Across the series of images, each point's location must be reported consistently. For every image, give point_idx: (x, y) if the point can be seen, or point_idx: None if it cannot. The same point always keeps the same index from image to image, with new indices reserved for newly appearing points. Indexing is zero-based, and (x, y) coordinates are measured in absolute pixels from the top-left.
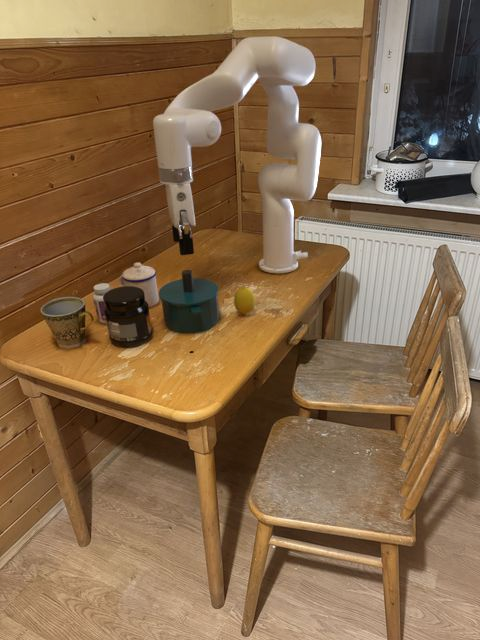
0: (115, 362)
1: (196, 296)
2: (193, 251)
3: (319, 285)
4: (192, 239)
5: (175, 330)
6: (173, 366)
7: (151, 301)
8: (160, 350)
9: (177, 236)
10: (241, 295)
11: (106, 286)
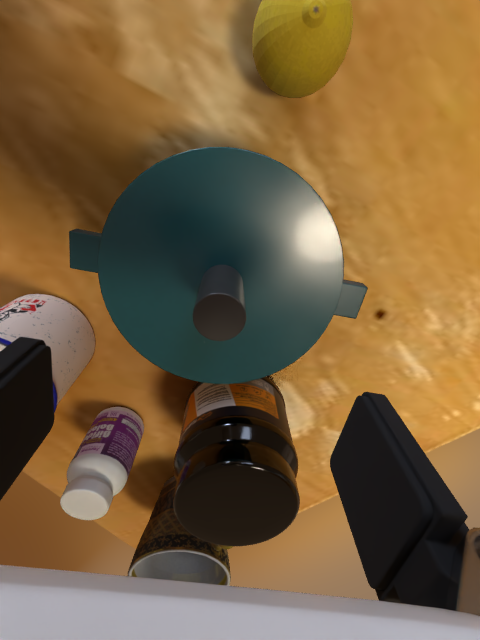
0: (312, 446)
1: (293, 280)
2: (389, 404)
3: None
4: (451, 495)
5: None
6: (403, 366)
7: (84, 331)
8: (325, 369)
9: (29, 434)
10: (331, 58)
11: (92, 497)
